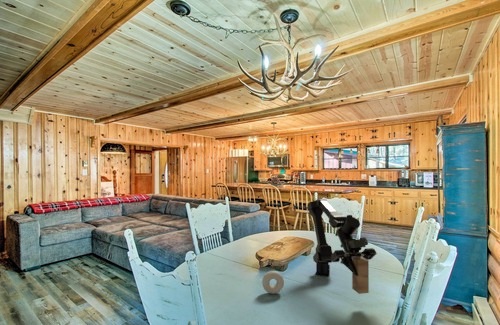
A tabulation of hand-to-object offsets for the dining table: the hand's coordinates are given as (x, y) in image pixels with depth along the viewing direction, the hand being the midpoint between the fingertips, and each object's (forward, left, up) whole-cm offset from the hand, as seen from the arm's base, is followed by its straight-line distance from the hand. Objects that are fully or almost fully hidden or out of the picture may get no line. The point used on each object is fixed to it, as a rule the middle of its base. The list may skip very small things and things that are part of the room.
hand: (362, 275), depth 100 cm
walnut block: (-1, +1, -7) cm, 7 cm away
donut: (-37, 0, -14) cm, 40 cm away
